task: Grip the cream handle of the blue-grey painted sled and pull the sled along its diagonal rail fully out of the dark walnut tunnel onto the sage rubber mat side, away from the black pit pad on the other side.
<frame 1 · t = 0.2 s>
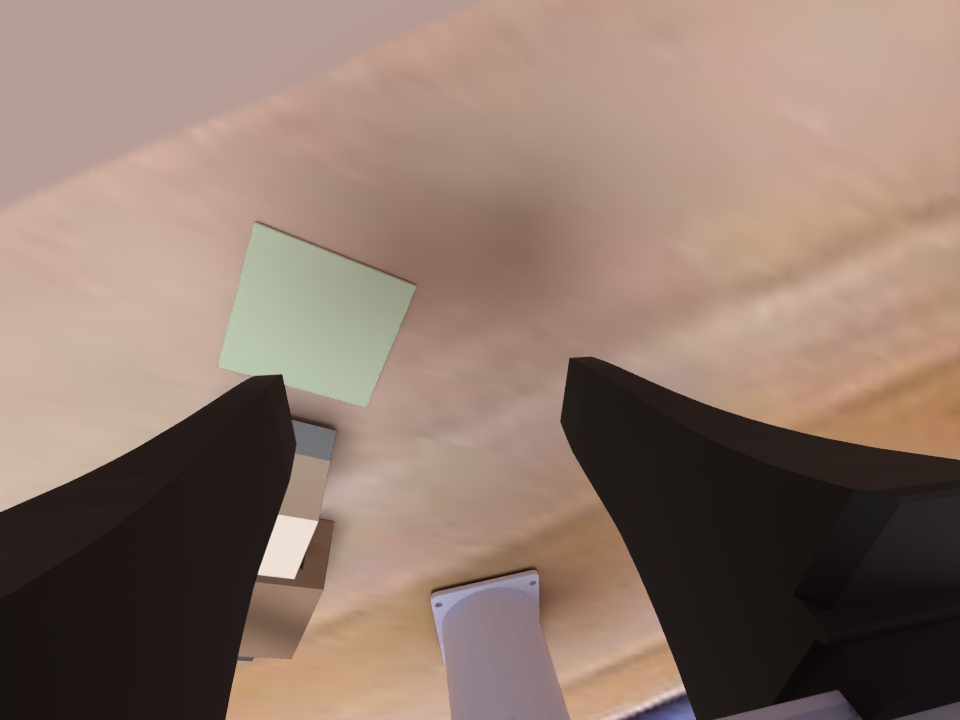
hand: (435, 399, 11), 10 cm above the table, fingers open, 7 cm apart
sled: (235, 562, 20), point 3 cm above the table, slide at 0.0 cm
tunnel: (243, 544, 24), on the table
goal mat: (318, 324, 19), on the table
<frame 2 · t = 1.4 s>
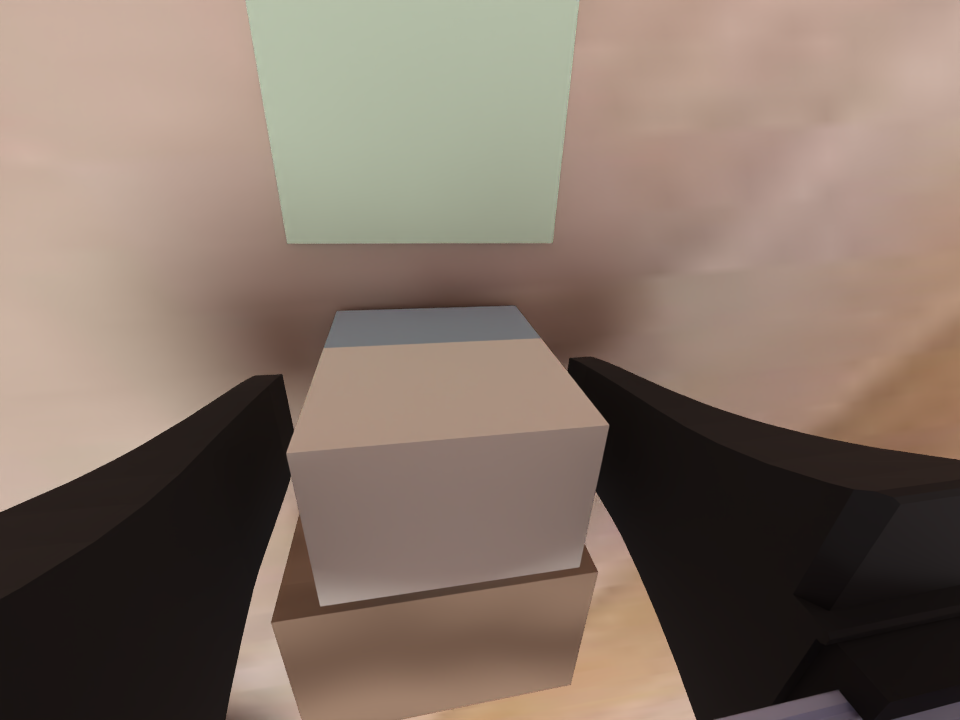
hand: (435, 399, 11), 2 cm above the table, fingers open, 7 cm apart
sled: (442, 565, 12), point 3 cm above the table, slide at 0.0 cm
tunnel: (433, 538, 16), on the table
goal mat: (423, 88, 10), on the table
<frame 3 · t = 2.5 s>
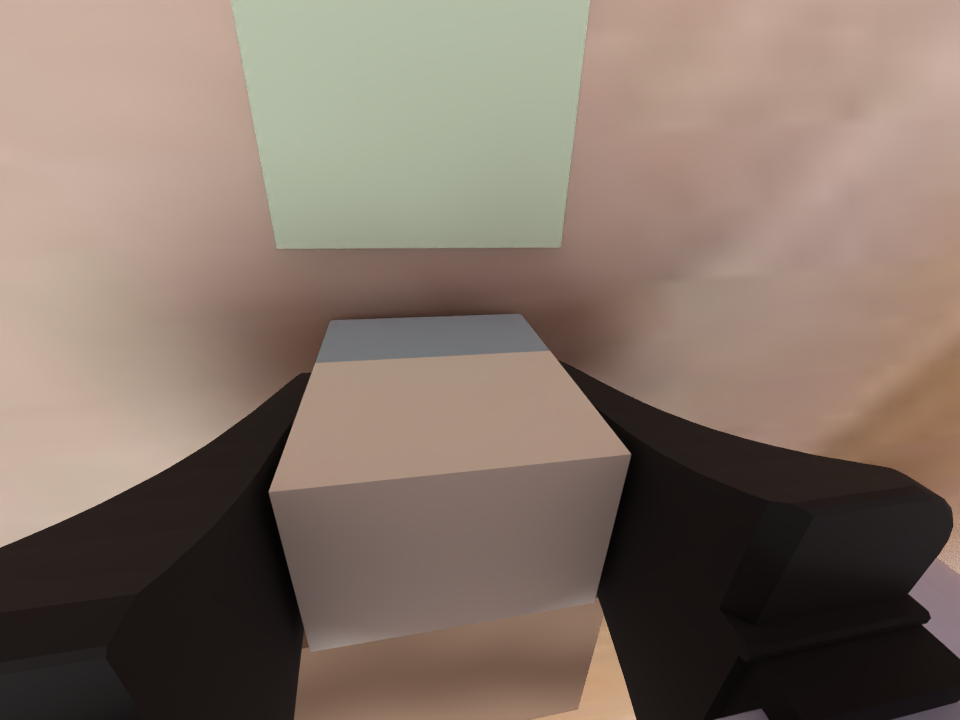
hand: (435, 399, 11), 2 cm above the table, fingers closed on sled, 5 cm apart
sled: (443, 589, 11), point 3 cm above the table, slide at 0.0 cm, touching gripper
tunnel: (434, 554, 16), on the table
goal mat: (422, 81, 9), on the table
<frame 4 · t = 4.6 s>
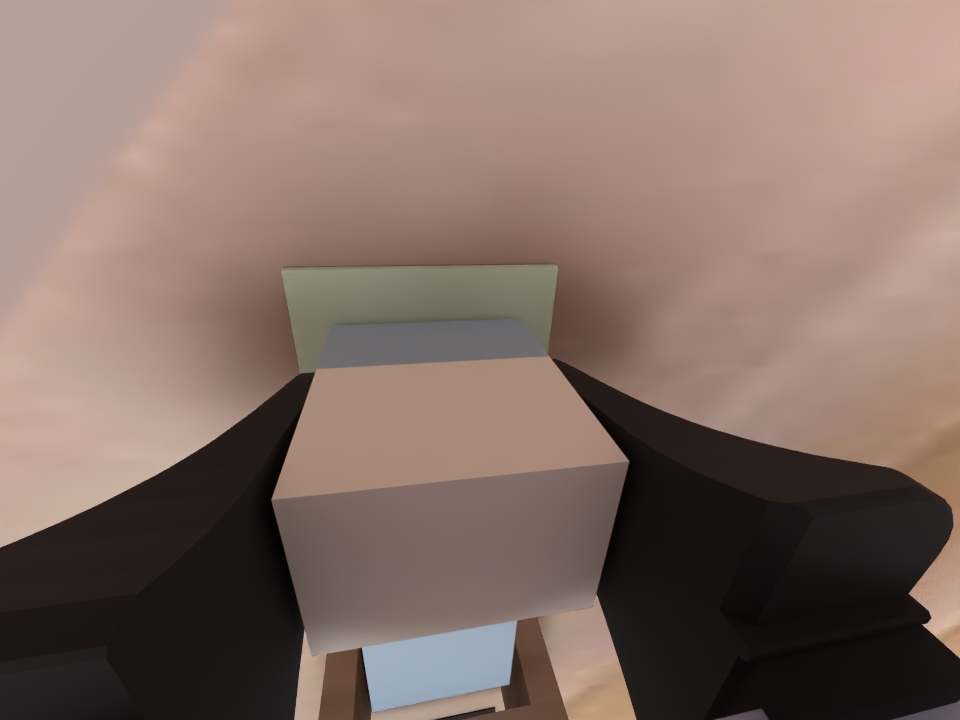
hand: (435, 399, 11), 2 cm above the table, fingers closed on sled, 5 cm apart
sled: (443, 592, 11), point 3 cm above the table, slide at 7.4 cm, touching gripper
tunnel: (436, 665, 19), on the table
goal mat: (430, 382, 12), on the table
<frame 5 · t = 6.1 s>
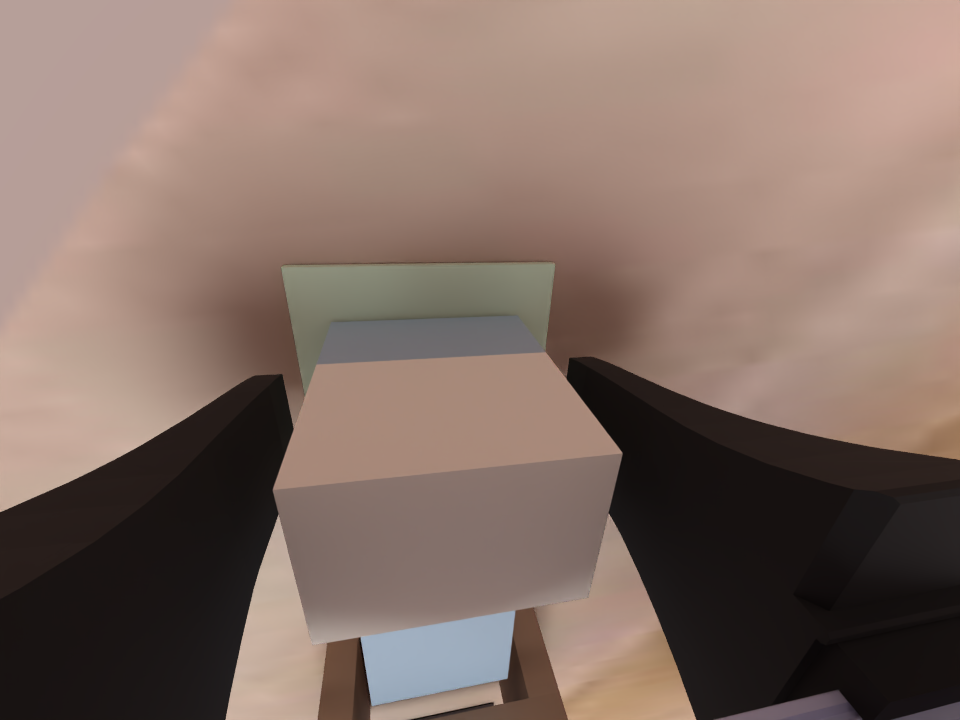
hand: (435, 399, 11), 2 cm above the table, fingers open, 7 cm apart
sled: (442, 586, 12), point 3 cm above the table, slide at 7.4 cm
tunnel: (435, 660, 19), on the table
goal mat: (428, 379, 12), on the table
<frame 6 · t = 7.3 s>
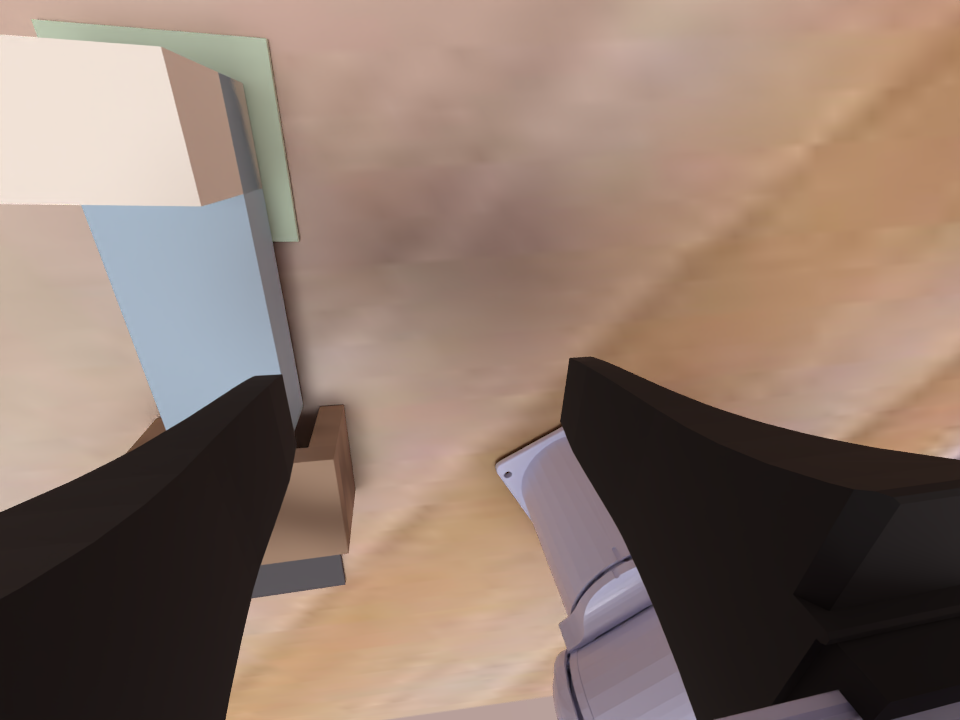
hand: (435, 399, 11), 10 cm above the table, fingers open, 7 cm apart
sled: (183, 295, 15), point 3 cm above the table, slide at 7.4 cm
pit pad: (290, 557, 26), on the table
tunnel: (265, 457, 22), on the table
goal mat: (186, 146, 16), on the table
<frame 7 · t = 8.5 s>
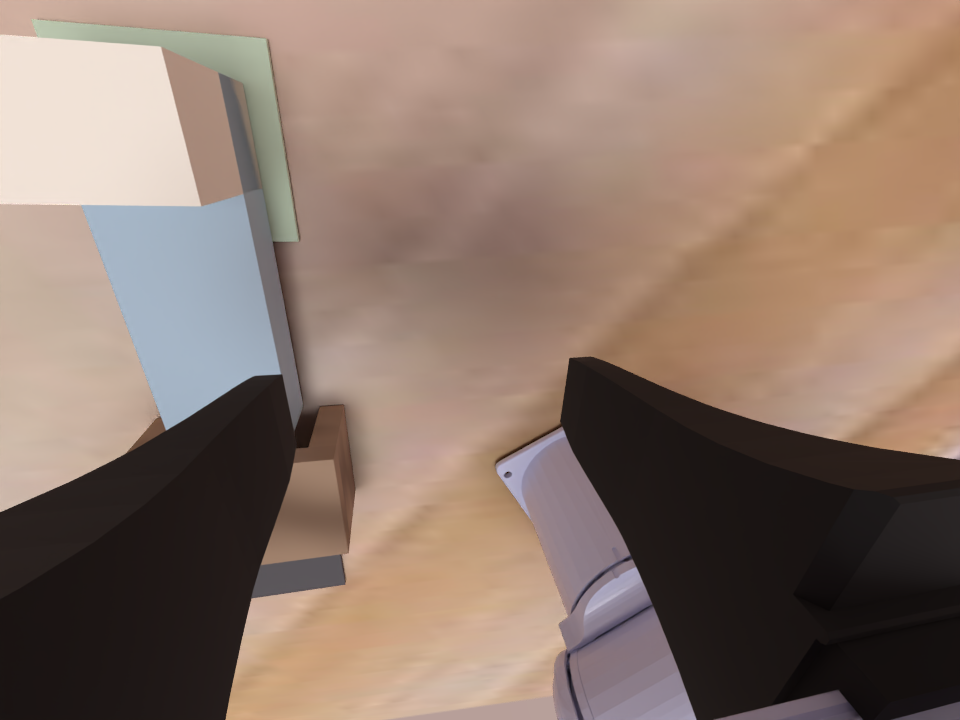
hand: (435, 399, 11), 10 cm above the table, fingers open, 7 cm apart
sled: (183, 295, 15), point 3 cm above the table, slide at 7.4 cm
pit pad: (290, 557, 26), on the table
tunnel: (265, 457, 22), on the table
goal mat: (186, 146, 16), on the table
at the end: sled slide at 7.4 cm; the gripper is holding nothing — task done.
